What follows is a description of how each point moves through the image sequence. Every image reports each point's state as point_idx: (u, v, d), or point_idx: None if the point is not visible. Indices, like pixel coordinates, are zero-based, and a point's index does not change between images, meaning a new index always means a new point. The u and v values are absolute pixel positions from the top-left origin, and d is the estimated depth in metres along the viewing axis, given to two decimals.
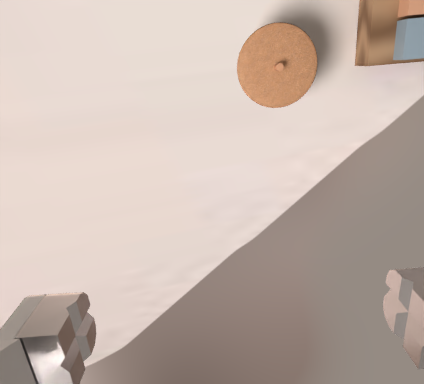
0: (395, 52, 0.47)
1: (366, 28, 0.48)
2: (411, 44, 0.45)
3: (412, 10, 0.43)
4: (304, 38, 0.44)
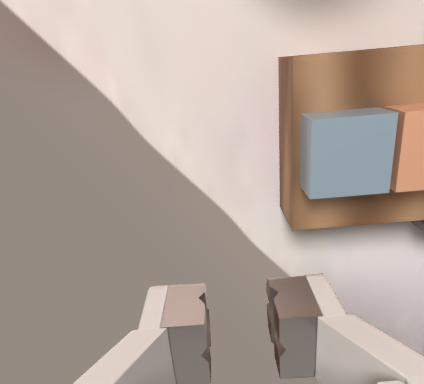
0: (318, 113, 0.21)
1: None
2: (342, 133, 0.20)
3: (413, 120, 0.20)
4: None
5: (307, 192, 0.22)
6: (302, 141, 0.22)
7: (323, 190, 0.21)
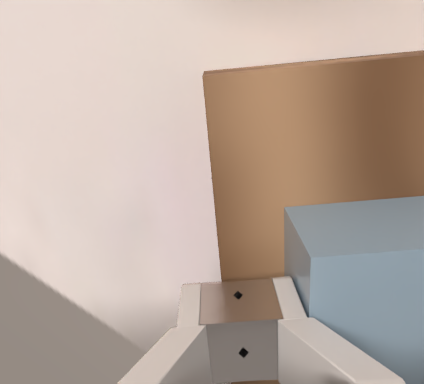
0: (326, 211, 0.09)
1: (386, 56, 0.09)
2: (398, 289, 0.07)
3: None
4: None
5: None
6: (288, 272, 0.09)
7: None
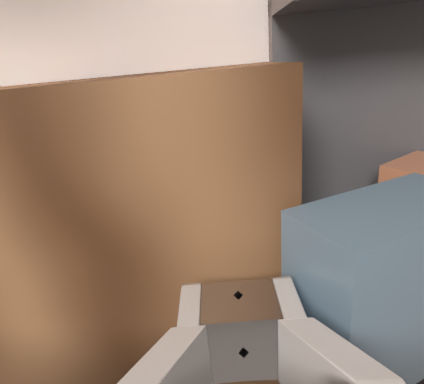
0: (323, 207, 0.09)
1: (70, 82, 0.09)
2: (415, 267, 0.08)
3: None
4: None
5: None
6: (293, 277, 0.09)
7: None
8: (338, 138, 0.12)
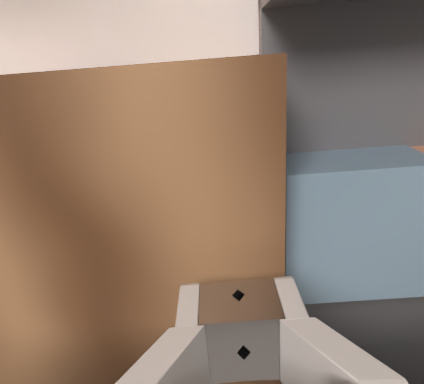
0: (301, 155, 0.12)
1: None
2: (344, 199, 0.11)
3: None
4: None
5: None
6: None
7: (309, 292, 0.12)
8: (327, 133, 0.12)
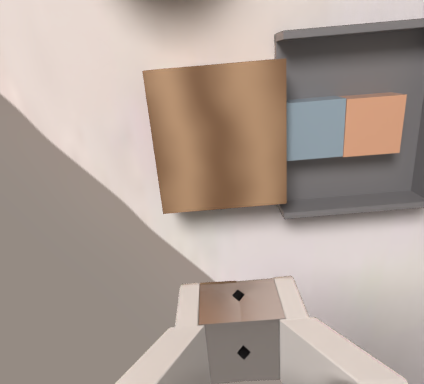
0: (292, 100, 0.30)
1: None
2: (308, 113, 0.28)
3: None
4: None
5: None
6: None
7: (296, 154, 0.30)
8: (303, 91, 0.30)
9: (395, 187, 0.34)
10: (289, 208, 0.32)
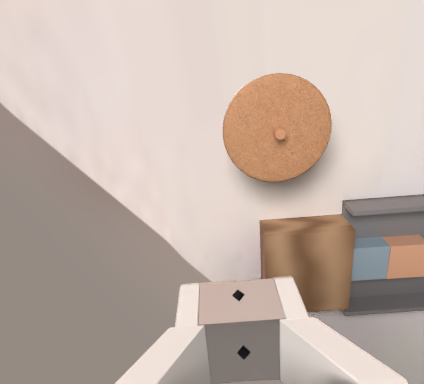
0: None
1: (302, 228, 0.42)
2: (365, 254, 0.44)
3: None
4: (309, 162, 0.34)
5: None
6: None
7: (355, 277, 0.45)
8: (359, 234, 0.45)
9: (419, 290, 0.49)
10: None
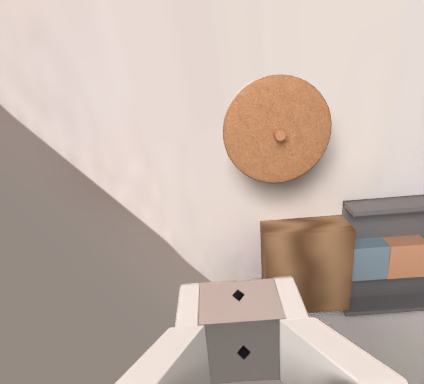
0: None
1: (303, 228, 0.42)
2: (365, 254, 0.44)
3: None
4: (309, 163, 0.34)
5: None
6: None
7: (356, 277, 0.45)
8: (360, 234, 0.45)
9: (419, 290, 0.49)
10: None
